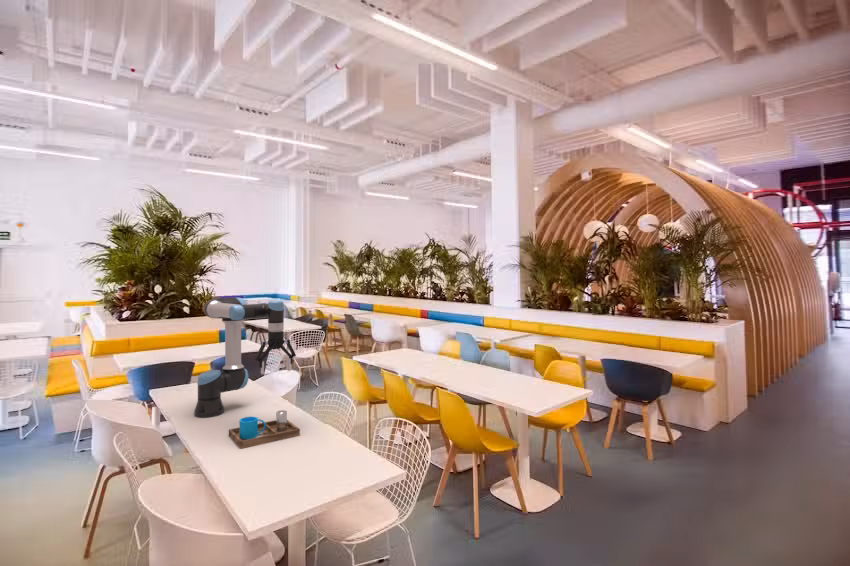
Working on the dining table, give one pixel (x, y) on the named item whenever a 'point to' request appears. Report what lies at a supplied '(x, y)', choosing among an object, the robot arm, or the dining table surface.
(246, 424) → the mug
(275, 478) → the dining table surface
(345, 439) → the dining table surface
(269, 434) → the tray
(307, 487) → the dining table surface
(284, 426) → the clear rounded cylinder
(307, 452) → the dining table surface
